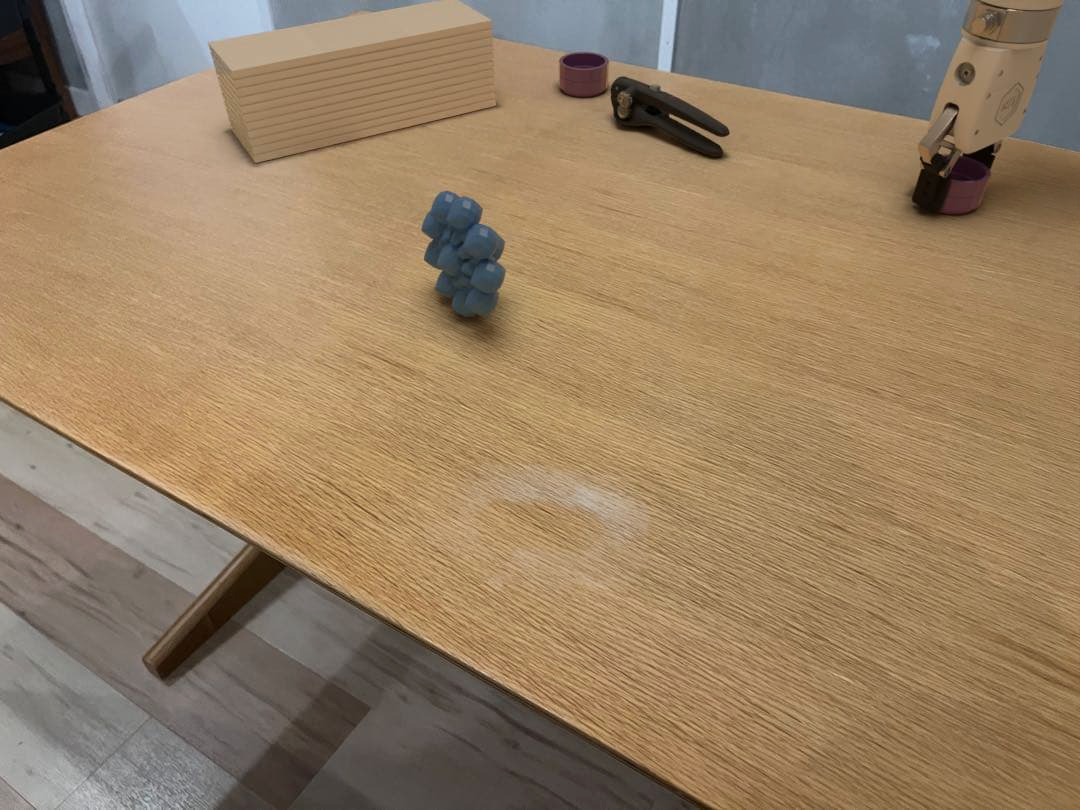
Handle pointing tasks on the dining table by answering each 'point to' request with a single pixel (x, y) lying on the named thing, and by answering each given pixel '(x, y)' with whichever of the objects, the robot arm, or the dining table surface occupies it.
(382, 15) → the tan ribbed wooden block
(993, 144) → the robot arm
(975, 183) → the plum dish
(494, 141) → the dining table surface
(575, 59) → the plum dish
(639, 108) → the can opener
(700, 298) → the dining table surface
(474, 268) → the grapes
